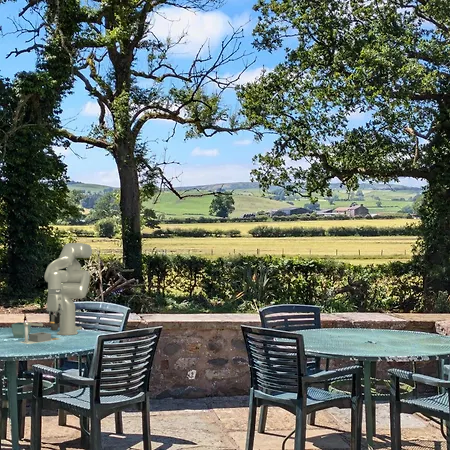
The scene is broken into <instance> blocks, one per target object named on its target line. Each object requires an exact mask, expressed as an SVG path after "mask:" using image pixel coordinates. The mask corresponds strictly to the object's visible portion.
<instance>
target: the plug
mask: <svg viewBox="0 0 450 450" xmlns="http://www.w3.org/2000/svg"><path fill="white" fill-rule="evenodd" d="M55 317H56V316H55V313H54V314H52V315H51V322H50V323H49V324H50V331H58V330H59V323H58V324H55Z"/></svg>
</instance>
